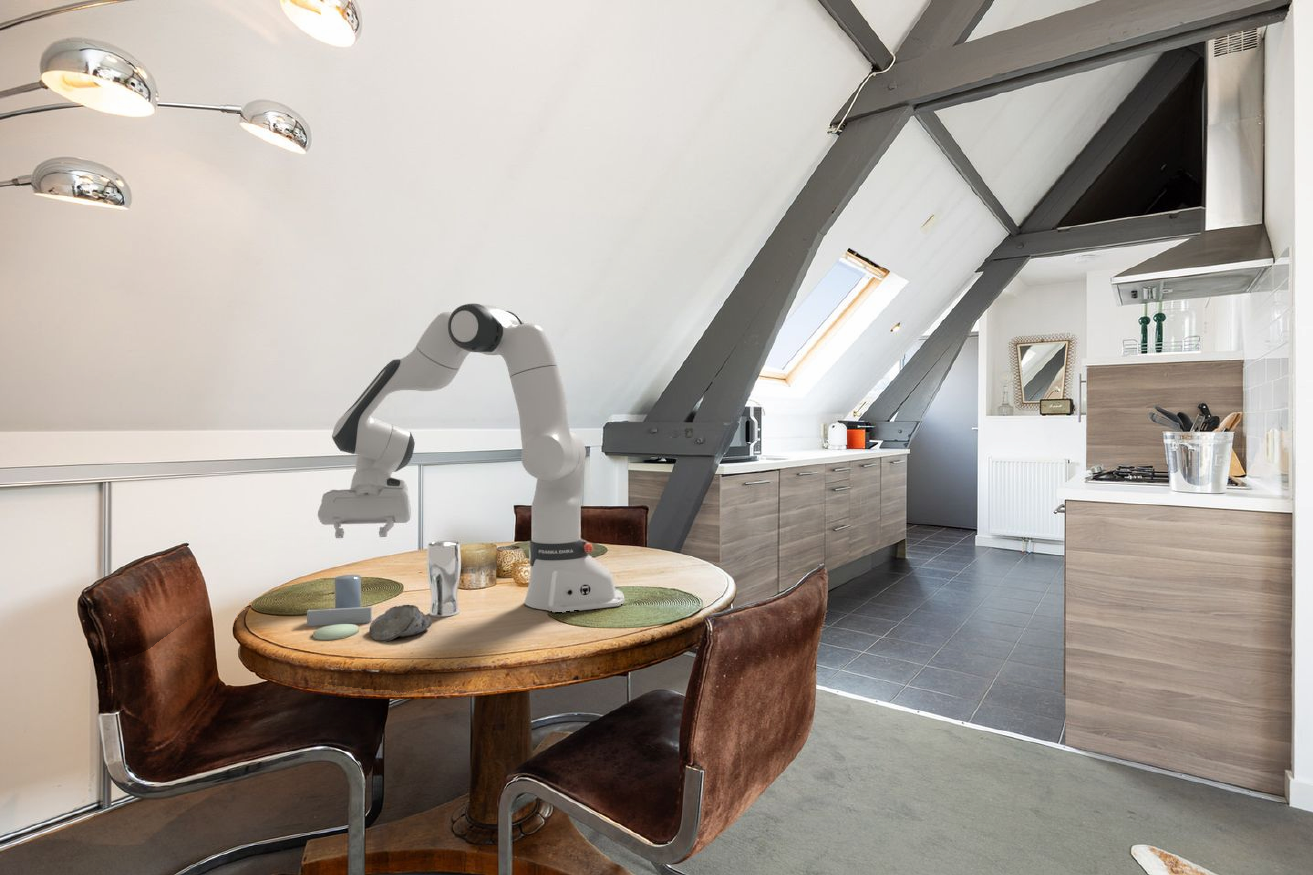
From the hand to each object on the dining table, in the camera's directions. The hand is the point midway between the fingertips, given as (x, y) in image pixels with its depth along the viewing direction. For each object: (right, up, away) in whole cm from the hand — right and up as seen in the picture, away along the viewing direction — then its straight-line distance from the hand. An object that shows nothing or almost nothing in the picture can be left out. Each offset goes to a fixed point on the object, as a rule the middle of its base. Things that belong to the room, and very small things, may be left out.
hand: (360, 536), depth 152 cm
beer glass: (+23, -15, -11) cm, 29 cm away
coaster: (+6, -15, -24) cm, 29 cm away
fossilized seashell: (+19, -16, -24) cm, 34 cm away
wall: (+4, -15, -18) cm, 24 cm away
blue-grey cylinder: (+2, -15, -12) cm, 19 cm away
